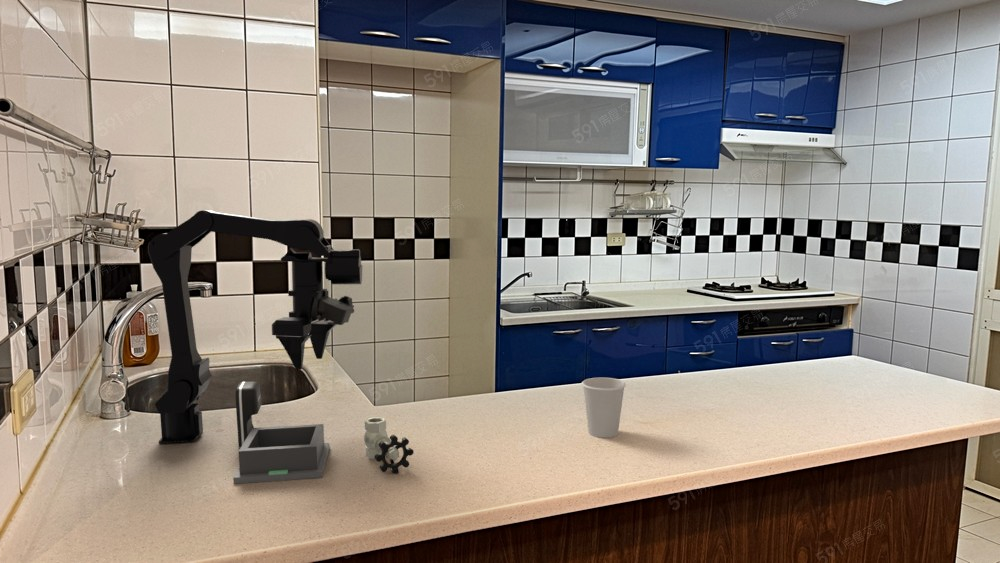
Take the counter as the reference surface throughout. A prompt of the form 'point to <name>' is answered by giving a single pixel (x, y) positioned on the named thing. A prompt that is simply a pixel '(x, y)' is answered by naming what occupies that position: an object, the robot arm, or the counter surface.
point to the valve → (384, 445)
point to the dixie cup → (603, 405)
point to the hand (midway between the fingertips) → (309, 363)
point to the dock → (282, 454)
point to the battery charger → (246, 408)
